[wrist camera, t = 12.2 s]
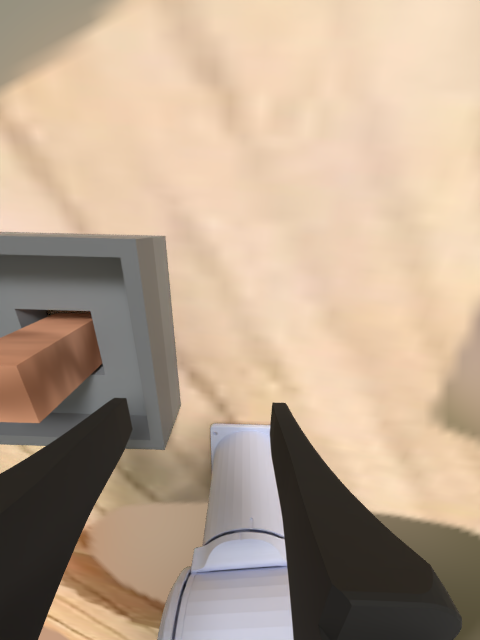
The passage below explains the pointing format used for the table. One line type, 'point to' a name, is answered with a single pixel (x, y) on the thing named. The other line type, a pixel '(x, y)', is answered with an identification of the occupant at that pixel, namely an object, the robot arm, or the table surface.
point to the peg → (45, 365)
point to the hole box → (98, 325)
